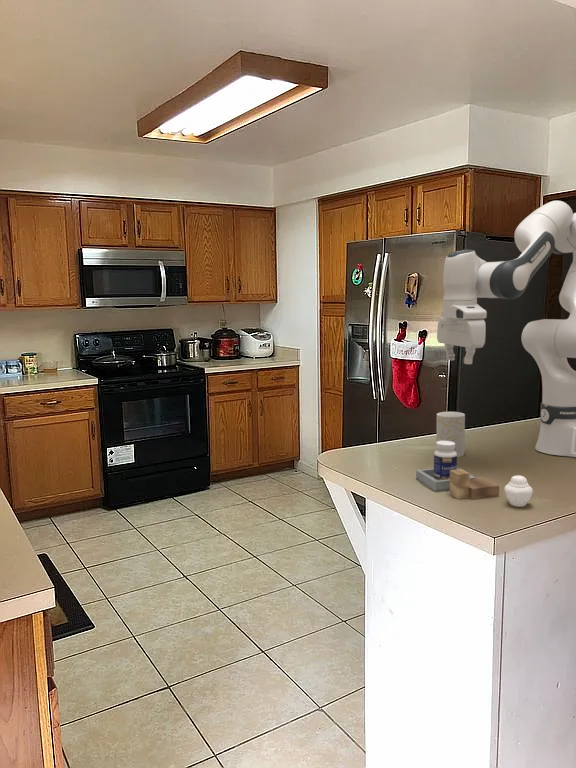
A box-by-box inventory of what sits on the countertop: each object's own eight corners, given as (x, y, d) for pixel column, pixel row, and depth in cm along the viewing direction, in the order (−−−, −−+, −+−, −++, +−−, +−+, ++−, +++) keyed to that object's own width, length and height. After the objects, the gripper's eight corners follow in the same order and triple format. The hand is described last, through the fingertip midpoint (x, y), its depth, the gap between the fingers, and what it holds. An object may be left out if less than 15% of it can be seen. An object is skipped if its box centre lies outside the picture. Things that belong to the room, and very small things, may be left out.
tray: (454, 475, 172) (454, 466, 171) (475, 487, 161) (475, 477, 161) (416, 479, 169) (416, 470, 169) (435, 491, 159) (435, 482, 158)
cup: (434, 456, 191) (434, 416, 189) (438, 449, 198) (438, 411, 197) (462, 458, 188) (463, 417, 186) (465, 451, 195) (466, 412, 194)
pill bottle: (443, 485, 162) (444, 446, 160) (428, 479, 167) (429, 441, 165) (461, 481, 164) (461, 443, 163) (446, 475, 169) (446, 438, 168)
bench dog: (460, 492, 158) (461, 468, 157) (469, 497, 154) (469, 473, 153) (449, 493, 157) (449, 470, 156) (457, 499, 153) (458, 474, 152)
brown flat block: (483, 489, 161) (483, 477, 160) (498, 497, 154) (499, 485, 154) (457, 492, 159) (457, 480, 159) (472, 501, 153) (472, 488, 152)
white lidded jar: (498, 503, 149) (498, 474, 148) (516, 498, 152) (516, 469, 151) (520, 511, 144) (520, 480, 143) (538, 505, 147) (539, 475, 146)
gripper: (431, 310, 183) (431, 358, 186) (468, 312, 164) (467, 366, 166) (451, 309, 185) (451, 357, 187) (490, 311, 165) (489, 365, 167)
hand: (459, 362), depth 176 cm, fingers open, 8 cm apart
